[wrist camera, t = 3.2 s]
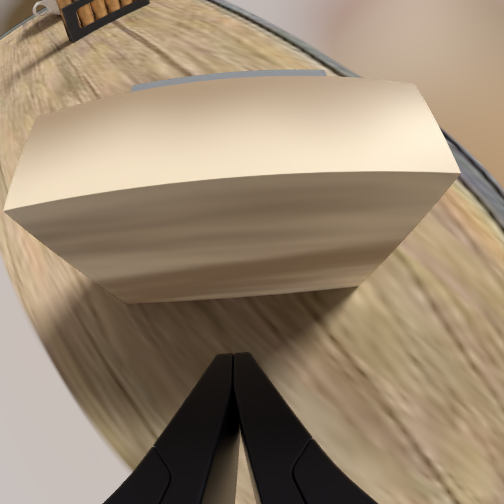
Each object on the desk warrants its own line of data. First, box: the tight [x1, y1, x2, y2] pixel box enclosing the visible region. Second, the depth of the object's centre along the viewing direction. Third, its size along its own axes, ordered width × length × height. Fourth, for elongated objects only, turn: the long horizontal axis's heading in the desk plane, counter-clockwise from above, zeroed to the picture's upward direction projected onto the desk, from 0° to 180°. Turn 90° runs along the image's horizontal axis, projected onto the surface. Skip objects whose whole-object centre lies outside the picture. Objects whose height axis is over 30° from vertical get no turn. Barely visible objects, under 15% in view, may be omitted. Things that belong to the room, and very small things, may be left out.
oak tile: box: [3, 76, 461, 304], centre depth 12 cm, size 4×12×10 cm, turn 94°
